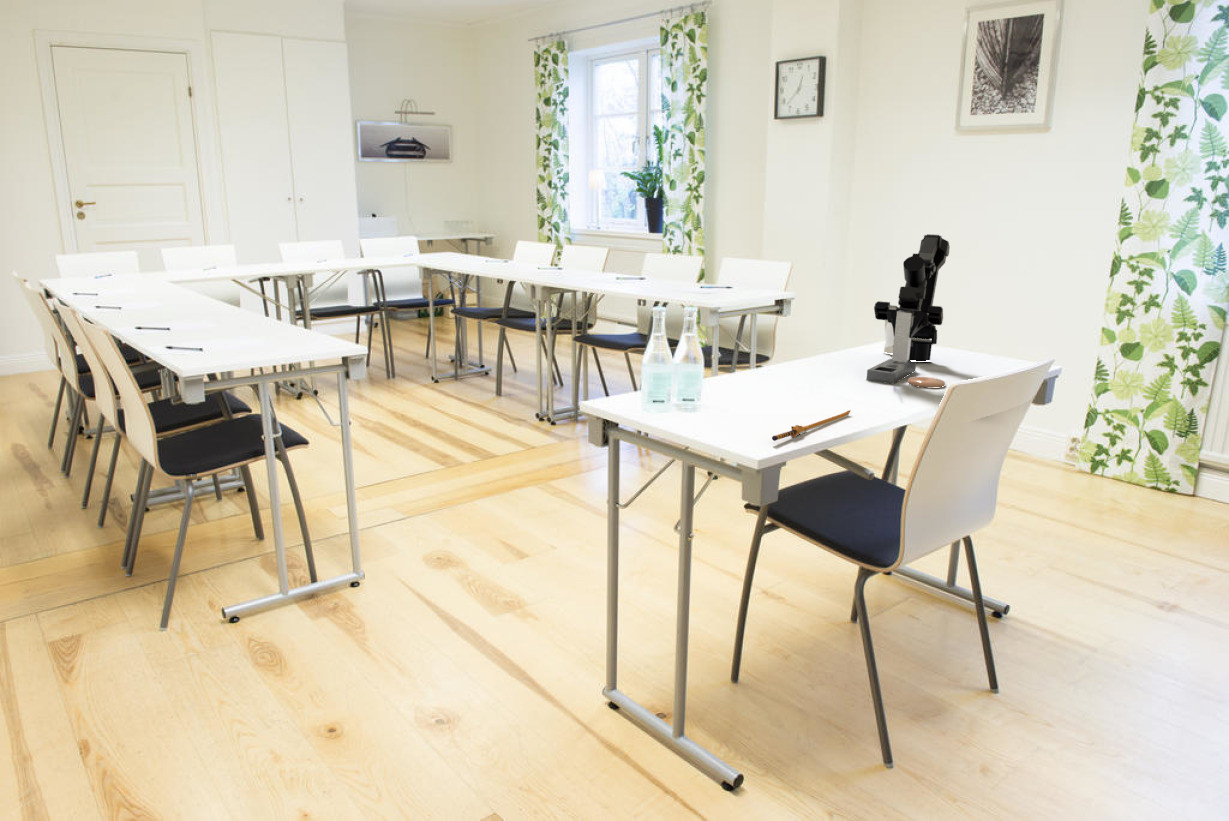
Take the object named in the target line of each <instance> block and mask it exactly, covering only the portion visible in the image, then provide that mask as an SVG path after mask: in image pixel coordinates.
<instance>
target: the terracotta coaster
mask: <svg viewBox="0 0 1229 821" xmlns="http://www.w3.org/2000/svg"><path fill="white" fill-rule="evenodd" d="M907 383H909V384H908V385H910V384H911V385H910V386H912V385H914V386H913V387H916V386H919V387H918V388H921V387H942V386H944V385H946V382H945V381H944V380H942V379H938V378H934V377H927V376H915V377H914V376H913V377H909V378H908V379H907ZM944 387H945V386H944Z"/></svg>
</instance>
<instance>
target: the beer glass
mask: <svg viewBox="0 0 1229 821" xmlns="http://www.w3.org/2000/svg"><path fill="white" fill-rule="evenodd" d="M884 335H885V343H884V349H883V351H884V352H887V353H893V346H894V333H893V327H892V324H891V323H889V322H888V320H884Z"/></svg>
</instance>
